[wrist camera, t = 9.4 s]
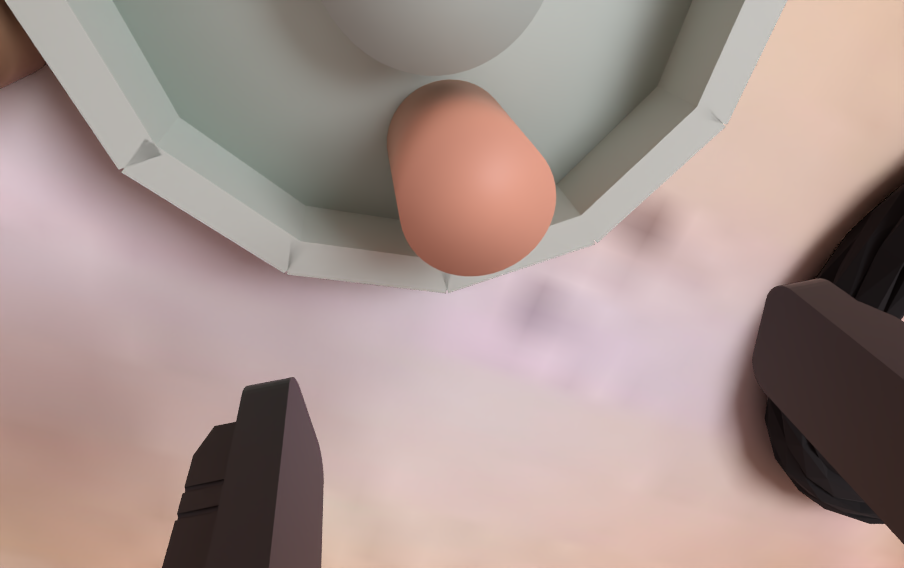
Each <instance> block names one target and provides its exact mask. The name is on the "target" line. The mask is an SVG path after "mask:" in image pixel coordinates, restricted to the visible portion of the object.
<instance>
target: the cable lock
mask: <svg viewBox="0 0 904 568" xmlns="http://www.w3.org/2000/svg"><path fill="white" fill-rule="evenodd" d="M819 278H821V279H826V280H828V281H830V282H832V283H833V284H835V285H836V286H837V287H839V288H840V289H842V290H843V291H844V292H846V293H847V294H849V295H850V296H851V297H853V298H854V299H856V300H857V301H858V302H862V303H864V304H867V305H869V306H871V307H874V308H876V309H878V310H881V311H883V312H886V313H888V314H890V315H893V316H895V317H897V318H898V319H900V320H901V319H902V318H903V316H904V183H903V184H902V185H901V186H900V187H899V188H898V189H897V190H896V191H894V192H893V193H892V194H891V195H890V196H889V197H888V198H886V199H885V200H884V201H883V202H882V203H881V204H879V205H878V206H877V207H876V208H875V209H874V210H872V211H871V212H870V213H869V214H868V215H867V216H865V217H864V218H863V219H862V220H861V221H860V222H859V223H858V224H857V225H856V226H855V227H854V228H853V229H852V230H851V231H850V232H849V233H848V234H847V235H846V236H845V238H844V239H843V240H842V242H841V243H840V245H839V246H838V248H837V249H836V250H835V252H834V253H833V255H832V256H831V258H830V259H829V261H828V262H827V263H826V265H825V266H824V268H823V269H822V271H821V272H820V274H819V275H818V276H817V278H816V279H819ZM765 421H766V425H767V429H768V434H769V437H770V441H771V445H772V448H773V452H774V456H775V459H776V460H777V462H778V463H779V464H780V466H781V467H782V468H783V470H784V471H785V472H786V474H787V475H788V476H789V478H790V479H791V480H792V482H793V483H794V484H795V486H796V487H797V488H798V490H799V491H801V492H802V493H803V494H805V495H806V496H808V497H809V498H810V499H812V500H813V501H815V502H816V503H817V504H819V505H820V506H822V507H823V508H824V509H827V510H830V511H833V512H836V513H839V514H842V515H845V516H848V517H851V518H854V519H857V520H860V521H863V522H866V523H869V524H885V523H884V522H883V521H882V520H881V519H880V518H879V517H878V516H877V514H876V513H875V512H874V511H873V510H872V509H871V508H870V507H869V506H868V505H867V504H866V502H865V501H864V500H863V499H862V498H861V497H860V496H859V495H858V494H857V493H856V492H855V491H854V489H853V488H852V487H851V486H850V485H849V484H848V483H847V482H846V481H845V480H844V479H843V477H842V476H841V475H840V474H839V473H838V472H837V471H836V470H835V469H834V468H833V467H832V465H831V464H830V463H829V462H828V461H827V460H826V459H825V458H824V457H823V456H822V455H821V454H820V452H819V451H818V450H817V449H816V448H815V447H814V446H813V445H812V444H811V443H810V442H809V440H808V439H807V438H806V437H805V436H804V435H803V434H802V433H801V432H800V431H799V430H798V428H797V427H796V426H795V425H794V424H793V423H792V422H791V421H790V420H789V419H788V418H787V416H786V415H785V414H784V413H783V412H782V411H781V410H780V409H779V408H778V407H777V406H776V405H775V403H774V402H773V401H772V400H771V399H770V398H769V397H768V401H767V407H766V414H765Z"/></svg>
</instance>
